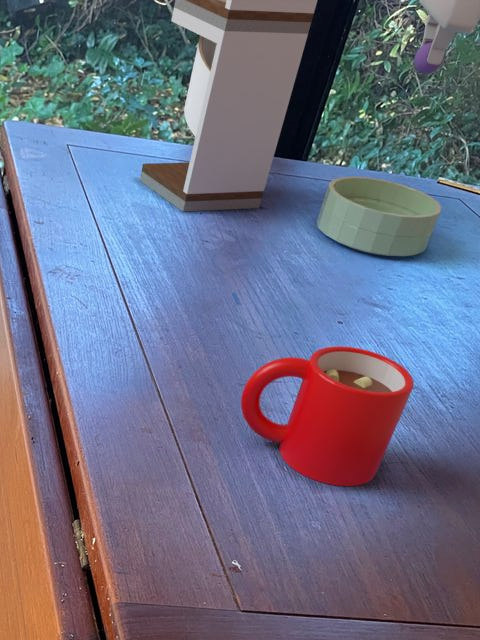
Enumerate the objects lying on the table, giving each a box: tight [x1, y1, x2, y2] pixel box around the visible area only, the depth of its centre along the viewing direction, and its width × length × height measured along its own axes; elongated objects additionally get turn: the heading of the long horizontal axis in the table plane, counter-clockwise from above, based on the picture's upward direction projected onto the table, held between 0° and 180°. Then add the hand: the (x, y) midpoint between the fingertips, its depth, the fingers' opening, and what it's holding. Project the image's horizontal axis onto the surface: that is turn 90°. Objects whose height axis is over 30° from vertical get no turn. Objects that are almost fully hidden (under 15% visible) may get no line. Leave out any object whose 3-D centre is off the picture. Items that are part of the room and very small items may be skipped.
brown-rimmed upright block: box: [139, 0, 318, 212], centre depth 114 cm, size 11×11×35 cm
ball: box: [413, 43, 445, 75], centre depth 130 cm, size 4×4×4 cm
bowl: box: [316, 175, 443, 257], centre depth 120 cm, size 13×13×5 cm
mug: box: [240, 345, 414, 487], centre depth 78 cm, size 8×12×8 cm, turn 77°
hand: (429, 59), depth 130 cm, fingers closed on ball, 3 cm apart
